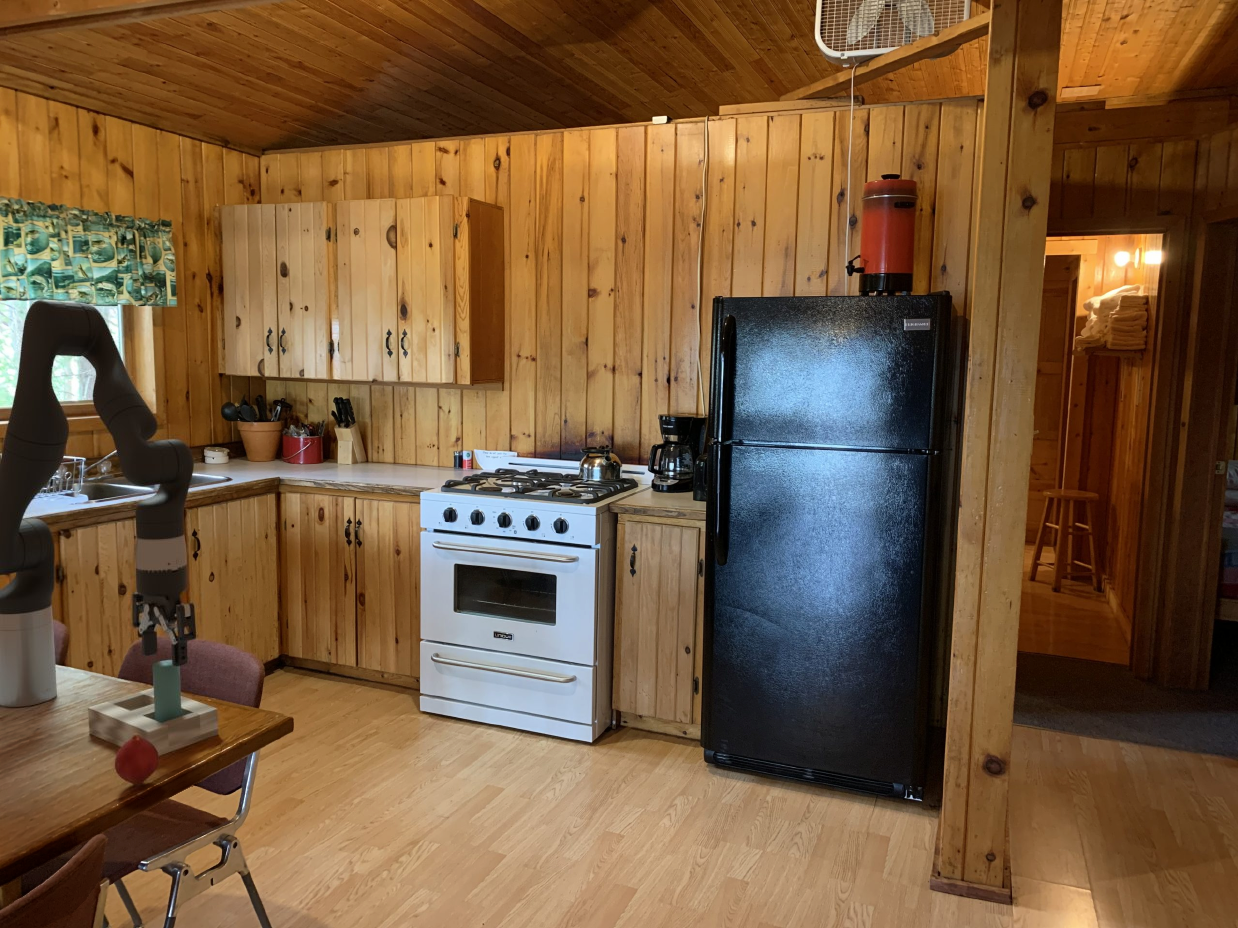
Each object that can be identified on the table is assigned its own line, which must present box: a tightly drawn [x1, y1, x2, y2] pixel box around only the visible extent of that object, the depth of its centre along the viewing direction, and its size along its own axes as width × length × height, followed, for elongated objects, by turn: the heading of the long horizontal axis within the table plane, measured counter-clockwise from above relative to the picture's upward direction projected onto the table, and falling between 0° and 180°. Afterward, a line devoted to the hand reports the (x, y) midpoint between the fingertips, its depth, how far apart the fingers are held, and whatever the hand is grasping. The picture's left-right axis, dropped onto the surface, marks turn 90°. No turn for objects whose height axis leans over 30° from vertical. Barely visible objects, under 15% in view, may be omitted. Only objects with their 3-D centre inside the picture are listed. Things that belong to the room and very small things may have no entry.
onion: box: [114, 734, 160, 787], centre depth 140 cm, size 6×6×8 cm
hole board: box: [87, 687, 219, 757], centre depth 159 cm, size 18×12×4 cm, turn 57°
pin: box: [152, 659, 182, 723], centre depth 156 cm, size 4×4×12 cm
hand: (164, 659), depth 155 cm, fingers open, 8 cm apart
